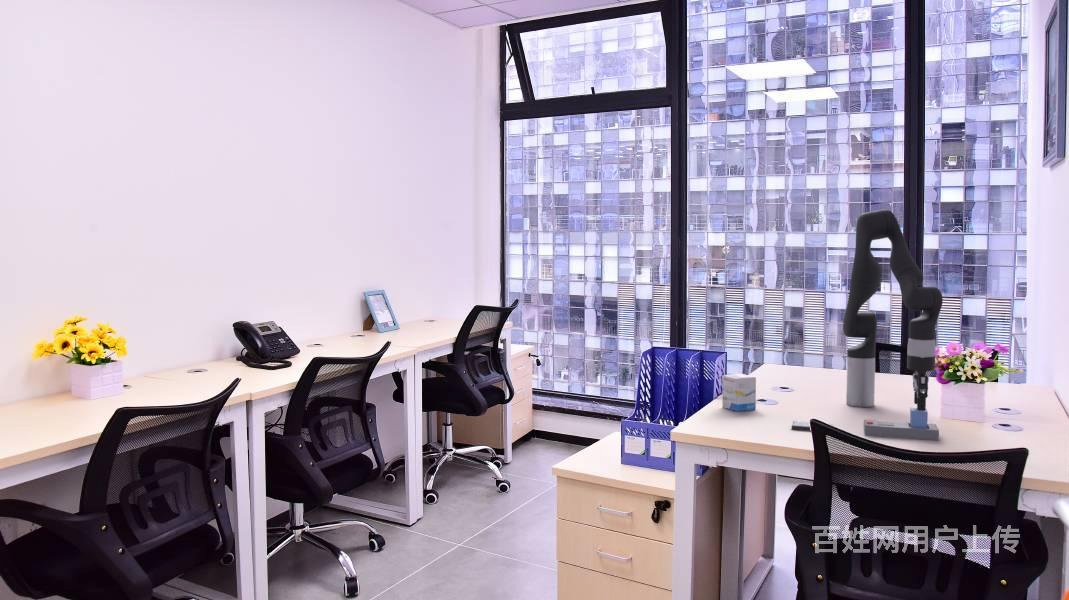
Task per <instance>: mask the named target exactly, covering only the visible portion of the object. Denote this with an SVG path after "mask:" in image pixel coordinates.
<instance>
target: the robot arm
mask: <svg viewBox="0 0 1069 600" xmlns="http://www.w3.org/2000/svg"><path fill="white" fill-rule="evenodd" d="M887 238H888V240H889V241H890V242H891V252H890V256H889V257H890V258H889V267H890V270H891V272H892V274H893V276H894V278H895V279H896V281H897V282H898V285H899V289H900V294H901V298H902V302H903V305H904V306H905V307H906V308H907V309H908V310H910V311H914V312H919V311H920V312H921V314H920V316H918V317H916V318H912V319H910V320H909V322H908V323H909V324H908V340H907V341H908V342H907V346H906V347H907V348H906V349H907V351H906V352H907V355H906V356H907V357H906V358H907V359H906V368H907V369H908V370H910V371H913V374H912V387H913V392H914V393H913V394H914V396H913V397H914V399H913V403H914V405H916V408H917V410H919V411H925V410H926V409H927V407H926V406H927V404H926V402H927V398H928V397H929V394H928V392H929V379H930V378H929V376H928V375H927V372H933V371H935V370H936V349H937V348H936V347H937V346H936V325H937V321H938V320H939V319H938V318H939V316H940V313H941V310H942V306H943V301H944V300H943V299H944V298H943V297H944V296H943V294H942V292H941V290H940V289H939V288H938V287H935V286H919V285H921V284H922V283H923V281H924V274H923V273H922V271H921V269H920V267H919V266H918V264H917V263H916V261H915V260H914V258H913V256H912V254H911V252H910V250H909V247H908V245H907V242H906V239H905V237H904V234H903V232H902V230H901V227H900V225H899V221H898V219H897V218H896V216H895V214H894V213H893V211H892V210H890V209H885V208H884V209H878V210H873V211H867V212H863V213H861V214H860V215H858V218H857V220H856V227H855V248H854V258H853V264H852V270H851V274H850V275H851V276H850V282H849V283H850V284H849V292H848V294H849V295H848V298H847V299H848V300H847V304H846V309H845V312H844V316H843V321H842V322H843V323H842V331H843V334H844V336H845V337H847V338H851V339H853V338H854V339H855V338H856V339H857V338H858V339H864V340H863V341H862V342H861V343H859V344H857V345H853V346H851V347H849V348H847V350H846V352H847V353H846V355H847V356H846V392H845V393H846V399H845V401H846V402H845V403H846V405H848V406H851V407H856V408H857V407H859V408H860V407H861V408H870V407H871V408H872V407H874V406H875V394H876V393H875V388H876V387H875V385H876V384H875V383H876V382H875V381H876V348H877V347H876V346H877V331H878V318H877V315H876V313H875V312H873V311H859V310H860V309H861V307H862V306H863V305H864V304H865V303H866V302H868V300H870V299H871V298H872V297H873V296H874V295H875V294H876V293H877V291H878V289H879V288H880V286H881V285H880V284H881V278H882V274H883V273H882V272H883V271H882V267H881V265H880V263H879V261H878V260H877V259H876V257H875V256H874V255H873V253H872V251H871V244H872V242H873V241H875V240H877V241H878V240H881V239H882V240H883V239H887Z"/></svg>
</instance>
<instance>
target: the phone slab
mask: <svg viewBox="0 0 1069 600" xmlns="http://www.w3.org/2000/svg"><path fill="white" fill-rule="evenodd" d="M809 422H810V421H798V420H793V421H792V422H791V423H792V424H791V430H795V431H807V432H808V431H809V432H811V431H810V426H809ZM827 423H828V424H830V425H832V426H833V427H834V423H832V422H831V423H830V422H827Z"/></svg>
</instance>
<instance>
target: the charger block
mask: <svg viewBox="0 0 1069 600" xmlns="http://www.w3.org/2000/svg"><path fill="white" fill-rule="evenodd" d="M909 408H910V409H909V423H910V427H911V428H926V429H927V424H928V416H929V413H928V412H929V411H928V409H927V408H926V410H925V411H919V410H917V407H909Z"/></svg>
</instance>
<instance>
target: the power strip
mask: <svg viewBox="0 0 1069 600" xmlns="http://www.w3.org/2000/svg"><path fill="white" fill-rule="evenodd" d="M863 434H864V436H870V437H872V436H873V437H886V438H887V437H888V438H900V439H914V440H926V441H927V440H928V441H929V440H930V441H939V440H940V438H939V437H940V430H939V428H938V426H937V424H935V423H934V424H933V423H927V429H926V428H911V427H910V421H909V422H907V421H905V422H904V421H893V420H892V421H890V420H876V419H874V420H873V419H863Z"/></svg>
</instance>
